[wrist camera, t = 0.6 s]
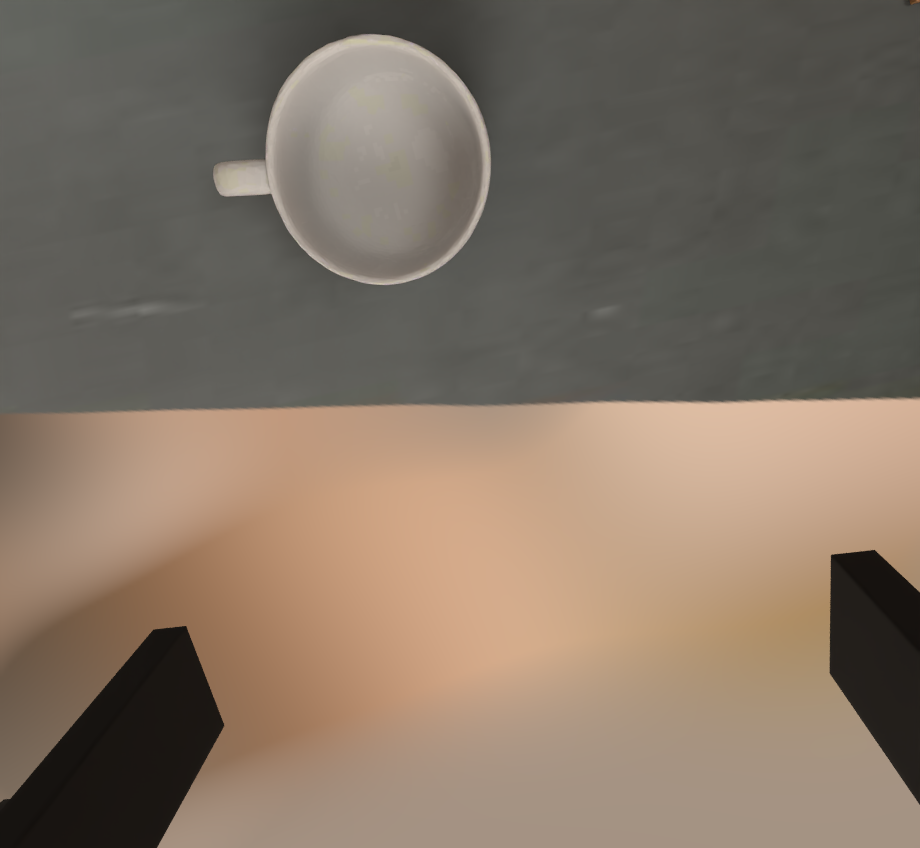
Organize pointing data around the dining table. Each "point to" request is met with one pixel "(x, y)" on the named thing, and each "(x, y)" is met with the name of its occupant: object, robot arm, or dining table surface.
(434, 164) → the teacup
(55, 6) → the dining table surface
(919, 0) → the cork placemat
